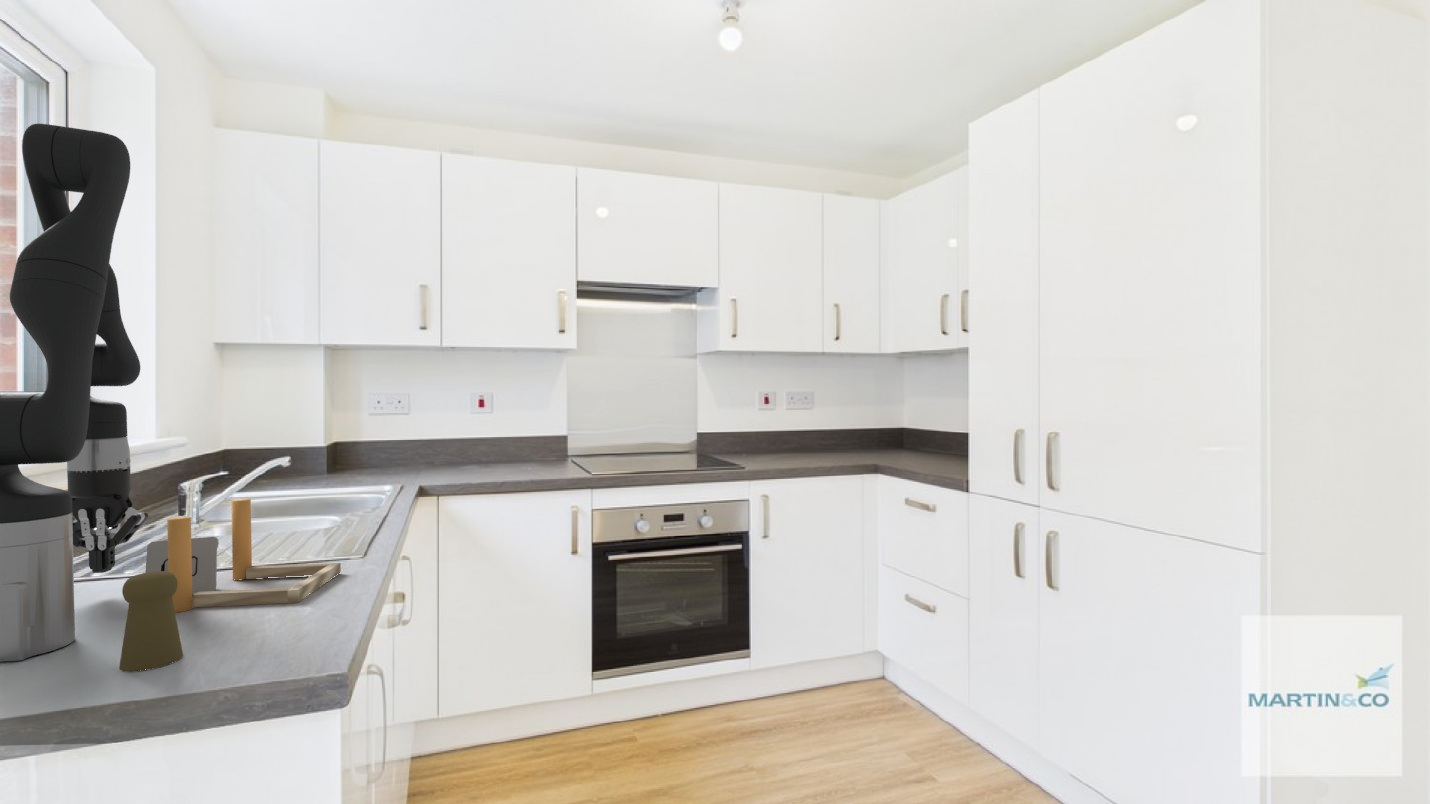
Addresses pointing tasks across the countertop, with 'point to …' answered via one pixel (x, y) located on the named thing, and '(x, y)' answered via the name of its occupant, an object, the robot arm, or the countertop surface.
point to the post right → (241, 537)
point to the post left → (180, 561)
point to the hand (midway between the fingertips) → (102, 571)
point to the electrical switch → (201, 561)
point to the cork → (150, 622)
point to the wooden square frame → (273, 595)
